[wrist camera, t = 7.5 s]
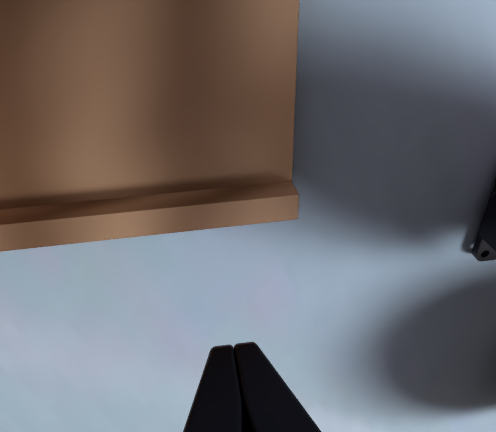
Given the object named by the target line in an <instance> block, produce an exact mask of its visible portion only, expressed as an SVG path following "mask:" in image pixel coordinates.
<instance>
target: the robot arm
mask: <svg viewBox="0 0 496 432" xmlns="http://www.w3.org/2000/svg"><path fill="white" fill-rule="evenodd" d="M472 254H473V256H474V257H475V258H476V259H477V260H479V261H487V260H495V259H496V181H495V184H494V187H493V190H492V193H491V196H490V199H489V202H488V205H487V208H486V211H485V214H484V217H483V220H482V223H481V226H480V229H479V232H478V235H477V238H476V241H475V244H474V247H473V250H472ZM183 432H321V431H320V429H319V428H318V427H317V425H316V424H315V422H314V421H313V420H312V418H311V417H310V416H309V414H308V413H307V412H306V410H305V409H304V408H303V406H302V405H301V403H300V402H299V401H298V399H297V398H296V397H295V395H294V394H293V393H292V391H291V390H290V389H289V387H288V386H287V384H286V383H285V382H284V380H283V379H282V378H281V376H280V375H279V374H278V372H277V371H276V370H275V368H274V367H273V366H272V364H271V363H270V361H269V360H268V359H267V357H266V356H265V355H264V353H263V352H262V351H261V349H260V348H259V347H258V345H257V344H256V343H254V342H246V343H238V344H236V345H235V346H234V348H233V346H232V345H222V346H215V347H213V348H212V349H211V350H210V353H209V356H208V359H207V362H206V365H205V368H204V371H203V374H202V377H201V380H200V383H199V386H198V389H197V392H196V395H195V398H194V401H193V404H192V407H191V410H190V413H189V416H188V419H187V422H186V425H185V428H184V430H183Z"/></svg>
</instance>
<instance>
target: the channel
mask: <svg viewBox="0 0 496 432" xmlns="http://www.w3.org/2000/svg"><path fill="white" fill-rule="evenodd" d="M298 18H299V0H0V251H9V250H18V249H27V248H36V247H46V246H55V245H64V244H73V243H82V242H92V241H101V240H110V239H119V238H128V237H138V236H147V235H156V234H165V233H174V232H184V231H193V230H202V229H211V228H221V227H230V226H239V225H248V224H257V223H267V222H276V221H285V220H294V219H298V206H299V194H298V192H297V190H296V188H295V186H294V184H293V182H292V166H293V141H294V117H295V92H296V68H297V43H298Z"/></svg>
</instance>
